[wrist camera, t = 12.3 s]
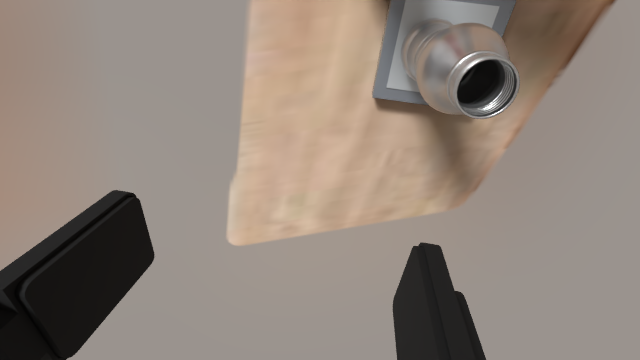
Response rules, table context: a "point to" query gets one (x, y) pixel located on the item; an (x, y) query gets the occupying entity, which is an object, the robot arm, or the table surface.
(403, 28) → the slate pedestal
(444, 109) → the metal water bottle
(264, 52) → the table surface
